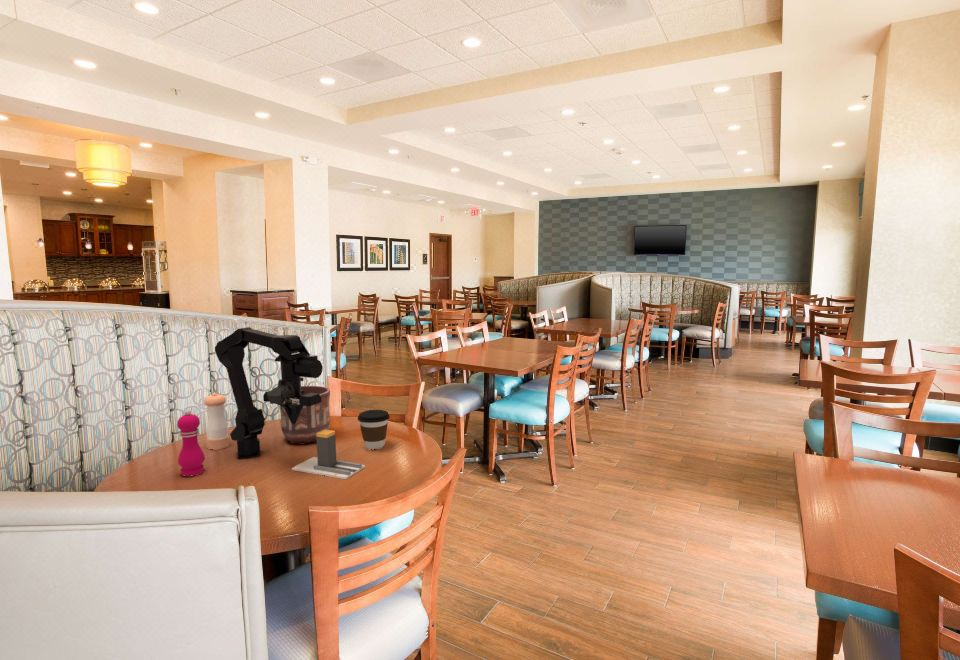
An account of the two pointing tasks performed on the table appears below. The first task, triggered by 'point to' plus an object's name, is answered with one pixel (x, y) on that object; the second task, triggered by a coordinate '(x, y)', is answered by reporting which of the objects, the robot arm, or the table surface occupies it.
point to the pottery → (308, 418)
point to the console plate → (337, 471)
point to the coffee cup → (374, 428)
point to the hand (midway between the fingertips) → (293, 423)
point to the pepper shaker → (216, 422)
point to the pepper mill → (190, 445)
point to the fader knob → (326, 448)
